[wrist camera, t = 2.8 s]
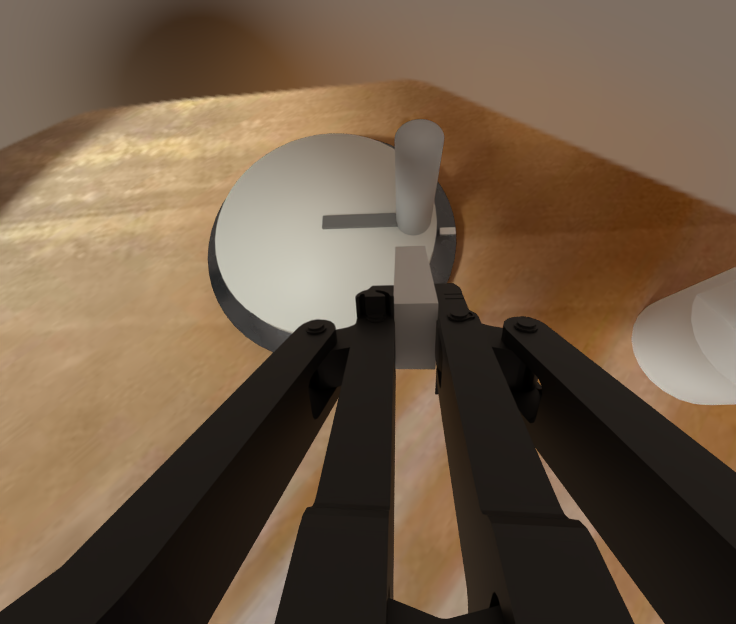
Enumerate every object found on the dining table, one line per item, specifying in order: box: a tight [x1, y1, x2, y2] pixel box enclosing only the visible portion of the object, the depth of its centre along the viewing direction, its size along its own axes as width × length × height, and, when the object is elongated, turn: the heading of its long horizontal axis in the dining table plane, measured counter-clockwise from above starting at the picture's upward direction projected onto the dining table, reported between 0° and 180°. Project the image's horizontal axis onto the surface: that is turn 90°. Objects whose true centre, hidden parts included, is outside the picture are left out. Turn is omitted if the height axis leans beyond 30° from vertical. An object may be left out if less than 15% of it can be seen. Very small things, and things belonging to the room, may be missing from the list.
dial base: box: [208, 139, 456, 352], centre depth 32 cm, size 24×24×2 cm
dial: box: [215, 119, 444, 334], centre depth 26 cm, size 20×20×11 cm
